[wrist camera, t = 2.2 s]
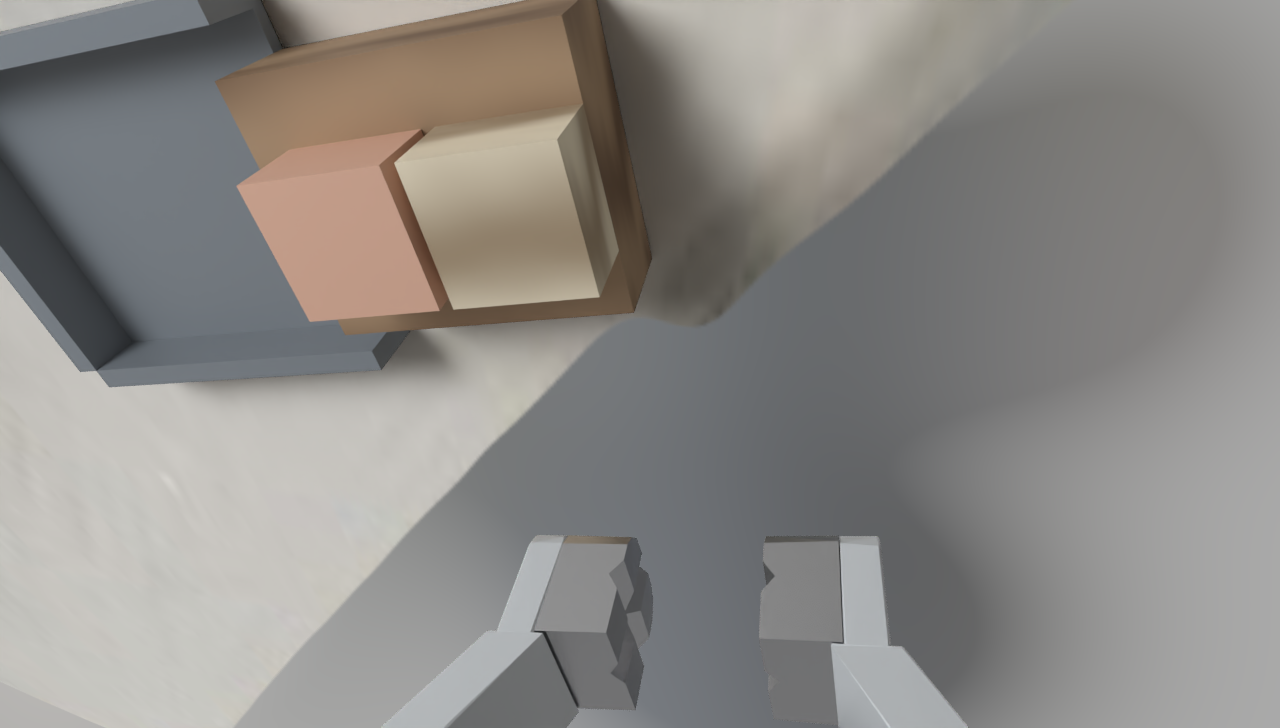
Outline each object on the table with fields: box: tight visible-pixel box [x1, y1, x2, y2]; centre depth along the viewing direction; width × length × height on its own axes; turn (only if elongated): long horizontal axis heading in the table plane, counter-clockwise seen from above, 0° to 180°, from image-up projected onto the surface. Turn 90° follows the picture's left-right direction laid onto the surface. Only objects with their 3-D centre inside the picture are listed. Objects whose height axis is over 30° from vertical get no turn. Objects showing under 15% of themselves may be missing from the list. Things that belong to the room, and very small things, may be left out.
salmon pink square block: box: [237, 129, 449, 322], centre depth 25 cm, size 5×5×3 cm
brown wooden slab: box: [215, 0, 652, 335], centre depth 27 cm, size 10×12×4 cm
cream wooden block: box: [394, 104, 619, 310], centre depth 23 cm, size 5×5×3 cm
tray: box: [0, 0, 410, 387], centre depth 31 cm, size 15×16×3 cm
